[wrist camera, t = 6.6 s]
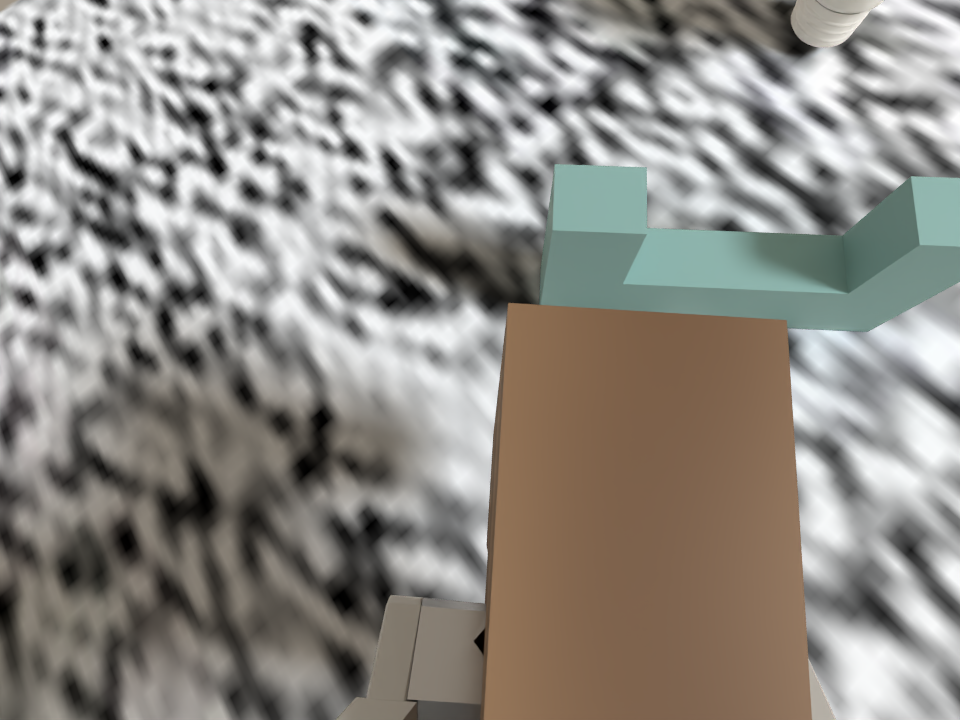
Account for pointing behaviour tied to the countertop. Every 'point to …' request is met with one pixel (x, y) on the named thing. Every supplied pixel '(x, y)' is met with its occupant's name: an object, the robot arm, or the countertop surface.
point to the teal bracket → (746, 257)
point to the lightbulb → (829, 20)
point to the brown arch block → (644, 521)
